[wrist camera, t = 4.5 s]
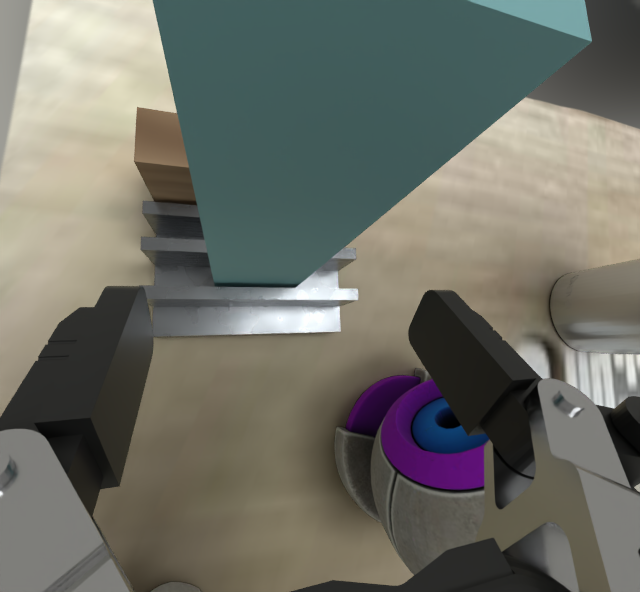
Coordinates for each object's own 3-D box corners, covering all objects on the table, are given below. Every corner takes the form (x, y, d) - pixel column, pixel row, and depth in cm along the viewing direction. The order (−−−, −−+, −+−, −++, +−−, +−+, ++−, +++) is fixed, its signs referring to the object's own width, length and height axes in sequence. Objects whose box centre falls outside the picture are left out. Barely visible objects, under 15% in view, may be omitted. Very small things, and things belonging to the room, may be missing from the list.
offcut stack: (330, 232, 27) (378, 180, 18) (164, 220, 23) (128, 149, 15) (329, 199, 27) (375, 133, 19) (165, 183, 24) (131, 92, 15)
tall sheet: (289, 292, 25) (591, 42, 4) (216, 292, 24) (128, -112, 3) (289, 273, 25) (574, -56, 5) (216, 271, 24) (137, -249, 3)
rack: (332, 332, 28) (359, 329, 22) (158, 337, 24) (136, 334, 18) (326, 184, 30) (350, 146, 24) (164, 165, 26) (147, 115, 20)
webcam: (421, 342, 30) (594, 340, 16) (485, 457, 30) (714, 558, 16) (308, 422, 26) (405, 517, 12) (383, 555, 26) (568, 806, 12)
